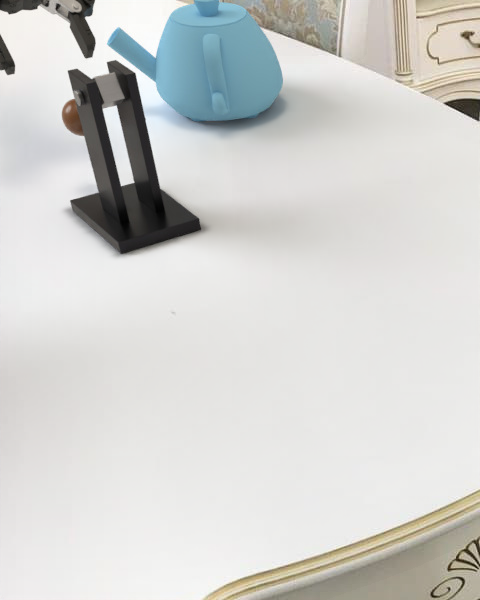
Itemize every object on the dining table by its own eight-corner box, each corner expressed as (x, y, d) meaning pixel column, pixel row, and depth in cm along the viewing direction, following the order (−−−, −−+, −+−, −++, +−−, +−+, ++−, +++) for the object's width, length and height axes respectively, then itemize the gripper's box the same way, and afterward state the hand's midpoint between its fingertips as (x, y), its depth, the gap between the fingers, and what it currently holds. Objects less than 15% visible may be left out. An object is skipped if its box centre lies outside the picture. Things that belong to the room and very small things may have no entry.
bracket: (72, 211, 118) (31, 63, 108) (150, 189, 122) (118, 44, 112) (121, 253, 112) (82, 101, 101) (201, 229, 116) (172, 80, 105)
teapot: (291, 134, 133) (277, 19, 124) (120, 145, 130) (92, 28, 121) (281, 75, 147) (267, -33, 138) (125, 84, 144) (101, -25, 135)
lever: (67, 142, 118) (52, 107, 117) (99, 134, 120) (84, 99, 118) (99, 111, 107) (83, 71, 105) (134, 103, 108) (119, 63, 107)
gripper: (-96, -104, 108) (-15, 56, 110) (45, -123, 114) (120, 28, 116) (-93, -54, 115) (-17, 96, 117) (40, -75, 121) (111, 67, 123)
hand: (51, 62), depth 117 cm, fingers open, 8 cm apart
